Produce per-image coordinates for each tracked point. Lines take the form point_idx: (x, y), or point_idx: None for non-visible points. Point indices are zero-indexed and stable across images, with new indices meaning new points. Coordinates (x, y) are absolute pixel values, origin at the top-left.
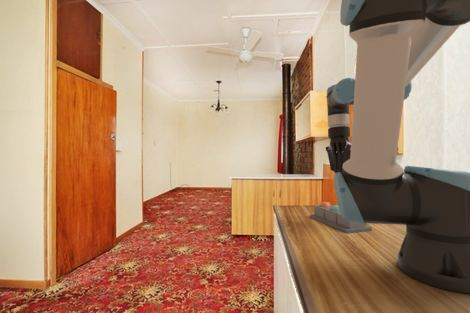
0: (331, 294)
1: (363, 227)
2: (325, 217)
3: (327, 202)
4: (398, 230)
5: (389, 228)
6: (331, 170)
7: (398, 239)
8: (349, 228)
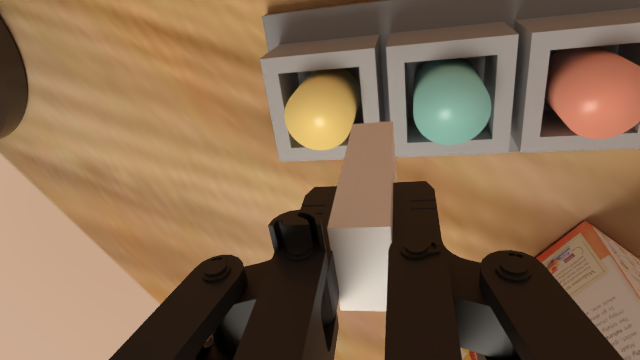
0: None
1: None
2: (498, 23)
3: (607, 125)
4: None
5: None
6: (513, 251)
7: (182, 162)
8: (284, 44)
